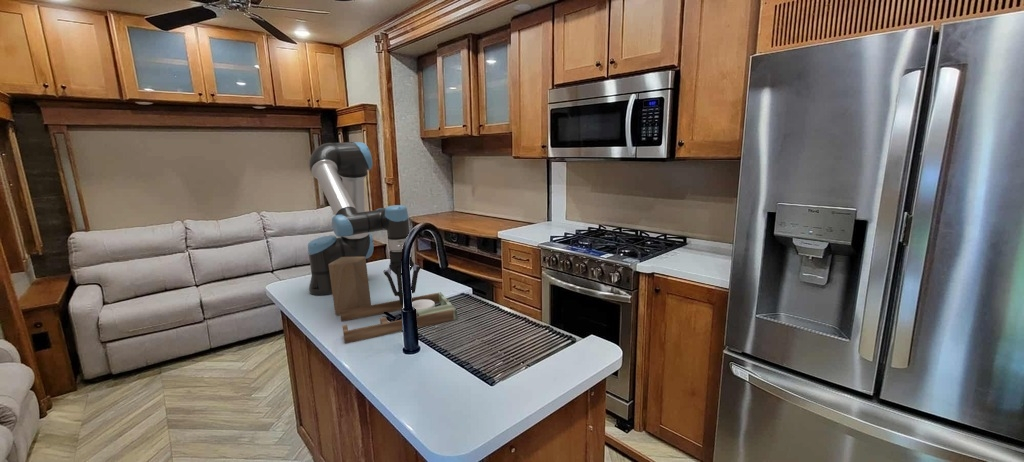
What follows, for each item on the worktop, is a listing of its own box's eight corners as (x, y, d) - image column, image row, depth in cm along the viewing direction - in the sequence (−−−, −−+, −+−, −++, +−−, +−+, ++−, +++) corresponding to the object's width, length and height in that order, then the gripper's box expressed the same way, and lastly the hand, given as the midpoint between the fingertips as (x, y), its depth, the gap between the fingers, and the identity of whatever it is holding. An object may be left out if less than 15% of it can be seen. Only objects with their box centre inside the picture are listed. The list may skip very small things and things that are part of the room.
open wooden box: (341, 320, 153) (339, 311, 153) (441, 300, 168) (440, 292, 168) (344, 343, 135) (343, 332, 134) (457, 319, 150) (456, 309, 149)
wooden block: (371, 305, 167) (365, 256, 163) (360, 315, 157) (353, 263, 153) (347, 305, 168) (341, 256, 164) (334, 315, 158) (327, 263, 154)
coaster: (436, 306, 163) (435, 297, 162) (434, 316, 153) (433, 307, 153) (409, 308, 162) (408, 300, 161) (406, 319, 152) (405, 310, 152)
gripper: (382, 254, 144) (389, 319, 148) (420, 249, 149) (426, 312, 154) (379, 249, 150) (386, 312, 155) (416, 244, 156) (421, 305, 160)
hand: (406, 312), depth 154 cm, fingers closed
